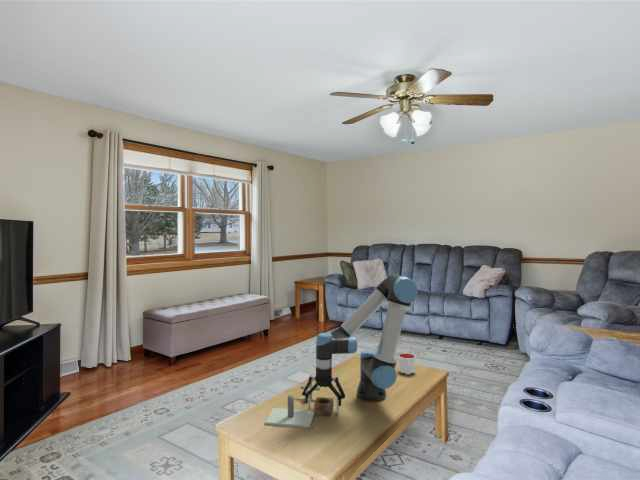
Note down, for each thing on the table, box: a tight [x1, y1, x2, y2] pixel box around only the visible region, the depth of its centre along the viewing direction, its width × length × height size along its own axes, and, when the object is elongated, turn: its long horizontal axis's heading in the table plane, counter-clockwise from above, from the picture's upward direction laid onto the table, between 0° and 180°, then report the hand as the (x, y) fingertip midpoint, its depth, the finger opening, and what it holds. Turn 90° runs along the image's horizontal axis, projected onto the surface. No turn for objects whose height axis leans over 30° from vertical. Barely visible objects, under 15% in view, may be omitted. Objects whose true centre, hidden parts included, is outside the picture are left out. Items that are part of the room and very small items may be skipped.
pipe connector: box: [300, 381, 321, 400], centre depth 195 cm, size 10×10×10 cm
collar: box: [313, 396, 334, 417], centre depth 180 cm, size 8×8×5 cm
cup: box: [397, 352, 416, 375], centre depth 232 cm, size 10×10×10 cm
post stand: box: [264, 394, 315, 429], centre depth 173 cm, size 20×14×10 cm
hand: (323, 411), depth 180 cm, fingers open, 13 cm apart
